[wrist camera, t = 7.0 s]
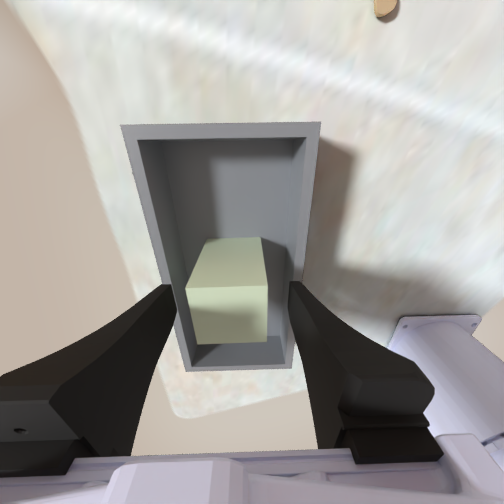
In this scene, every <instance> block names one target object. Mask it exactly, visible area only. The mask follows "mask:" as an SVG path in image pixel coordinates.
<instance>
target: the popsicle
mask: <svg viewBox="0 0 504 504" xmlns="http://www.w3.org/2000/svg"><path fill="white" fill-rule="evenodd" d="M396 3H397V0H374V11H375V15H376V16H377V17H383V16H385V15H387V14H389V13H390V12H391V11H392V10H393V9H394V8H395V6H396Z"/></svg>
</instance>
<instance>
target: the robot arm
mask: <svg viewBox="0 0 504 504" xmlns="http://www.w3.org/2000/svg"><path fill="white" fill-rule="evenodd" d="M287 308H288V313H289V319H290V324H291V327H292V330H293V333H294V337H295V340H296V343H297V346H298V350H299V353H300V356H301V360H302V364H303V368H304V373H305V378H306V383H307V388H308V393H309V398H310V404H311V409H312V415H313V421H314V427H315V433H316V439H317V444H318V449H316V450H288V451H262V452H261V451H259V452H235V453H234V452H233V453H205V454H177V455H150V456H149V455H148V456H131V452H132V448H133V443H134V439H135V435H136V431H137V427H138V424H139V420H140V416H141V413H142V409H143V405H144V402H145V398H146V395H147V392H148V388H149V385H150V382H151V379H152V376H153V373H154V370H155V367H156V364H157V362H158V359H159V357H160V355H161V353H162V350H163V348H164V346H165V343H166V341H167V339H168V336H169V334H170V332H171V329H172V327H173V324H174V321H175V317H176V314H177V306H176V302H175V298H174V294H173V289H172V285H171V284H161V285H160V286H158V287H157V288H156V289H154V290H153V291H152V292H150V293H149V294H148V295H147V296H145V297H144V298H143V299H142V300H140V301H139V302H138V303H136V304H135V305H134V306H133V307H131V308H130V309H128V310H127V311H125V312H124V313H123V314H121V315H120V316H118V317H117V318H116V319H114V320H113V321H111V322H110V323H108V324H106V325H105V326H103V327H102V328H100V329H98V330H97V331H95V332H93V333H91V334H90V335H88V336H86V337H84V338H82V339H81V340H79V341H77V342H75V343H73V344H71V345H69V346H67V347H65V348H63V349H61V350H59V351H57V352H55V353H53V354H50V355H48V356H46V357H44V358H42V359H39V360H37V361H35V362H32V363H30V364H27V365H25V366H23V367H20V368H18V369H15V370H13V371H11V372H8V373H6V374H3V375H2V376H1V377H0V504H504V362H503V361H502V360H500V359H499V358H498V357H497V356H496V355H494V354H493V353H492V352H491V351H490V350H488V349H487V348H486V347H485V346H484V345H482V344H481V343H480V342H479V341H478V340H476V339H475V338H474V337H473V336H472V333H473V332H474V331H475V329H476V328H477V326H478V325H479V323H480V322H481V320H482V318H481V317H479V316H478V315H449V316H413V317H403V318H401V319H400V320H399V323H398V325H397V327H396V329H395V332H394V334H393V336H392V339H391V341H390V343H389V346H388V348H385V347H383V346H381V345H380V344H378V343H376V342H374V341H372V340H371V339H369V338H367V337H366V336H364V335H362V334H361V333H359V332H358V331H356V330H355V329H353V328H352V327H350V326H349V325H347V324H346V323H345V322H343V321H342V320H340V319H339V318H338V317H337V316H335V315H334V314H333V313H332V312H330V311H329V310H328V309H327V308H326V307H325V306H324V305H323V304H322V303H320V302H319V301H318V300H317V299H316V298H315V297H314V296H313V295H312V294H311V293H310V291H309V290H308V289H307V288H306V287H305V286H304V285H303V284H302V283H301V282H300V281H290V282H289V294H288V306H287Z"/></svg>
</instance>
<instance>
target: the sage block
mask: <svg viewBox="0 0 504 504" xmlns="http://www.w3.org/2000/svg"><path fill="white" fill-rule="evenodd" d="M185 290H186V294H187V299H188V304H189V308H190V313H191V317H192V322H193V327H194V331H195V336H196V340H197V344H223V343H251V342H267V303H268V284H267V277H266V271H265V264H264V257H263V251H262V244H261V238H260V237H248V238H216V239H207V240H206V242H205V244H204V247H203V249H202V251H201V253H200V256H199V258H198V260H197V263H196V265H195V267H194V269H193V272H192V274H191V276H190V278H189V281H188V283H187V285H186V288H185Z"/></svg>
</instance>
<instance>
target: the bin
mask: <svg viewBox="0 0 504 504" xmlns="http://www.w3.org/2000/svg"><path fill="white" fill-rule="evenodd" d="M120 126H121V130H122V134H123V138H124V141H125V145H126V149H127V153H128V156H129V160H130V164H131V168H132V171H133V175H134V179H135V183H136V186H137V190H138V194H139V198H140V201H141V205H142V209H143V213H144V216H145V220H146V224H147V228H148V232H149V235H150V239H151V243H152V247H153V250H154V254H155V258H156V262H157V265H158V269H159V273H160V277H161V280H162V284H171V285H172V289H173V294H174V298H175V302H176V306H177V314H176V317H175V321H174V324H173V325H174V329H175V333H176V337H177V340H178V344H179V348H180V352H181V355H182V359H183V363H184V367H185V370H186V372H194V371H226V370H258V369H291V368H292V361H293V353H294V344H295V337H294V333H293V330H292V327H291V324H290V319H289V313H288V308H287V306H288V294H289V282H290V281H300V282H301V283H302V277H303V269H304V261H305V252H306V244H307V236H308V227H309V219H310V211H311V202H312V194H313V186H314V177H315V169H316V161H317V152H318V144H319V136H320V127H321V122H272V123H206V124H139V125H120ZM248 237H260V238H261V244H262V251H263V257H264V264H265V271H266V277H267V284H268V303H267V342H251V343H223V344H197V340H196V336H195V331H194V327H193V322H192V317H191V313H190V308H189V304H188V299H187V294H186V290H185V288H186V285H187V283H188V281H189V278H190V276H191V274H192V272H193V269H194V267H195V265H196V263H197V260H198V258H199V256H200V253H201V251H202V249H203V247H204V244H205V242H206V240H207V239H216V238H248Z"/></svg>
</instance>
